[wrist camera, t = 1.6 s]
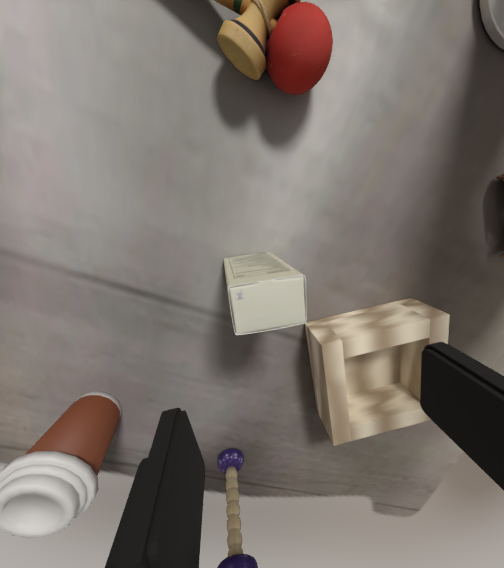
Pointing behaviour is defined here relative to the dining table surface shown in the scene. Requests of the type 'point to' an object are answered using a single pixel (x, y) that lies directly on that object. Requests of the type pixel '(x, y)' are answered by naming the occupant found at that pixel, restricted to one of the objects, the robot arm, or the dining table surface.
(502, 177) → the bird sculpture
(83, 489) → the coffee cup
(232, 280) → the skincare box
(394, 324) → the holder
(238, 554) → the toy lamp
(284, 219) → the dining table surface
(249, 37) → the kendama
